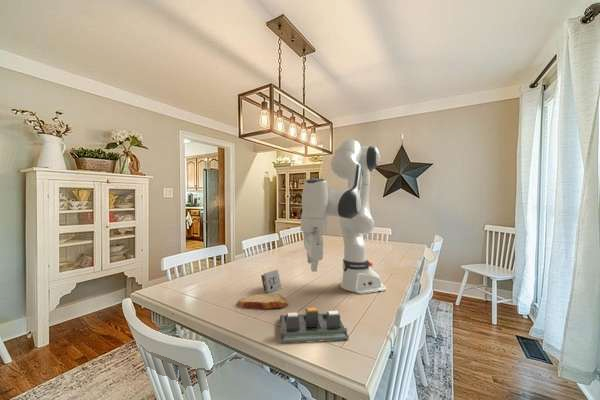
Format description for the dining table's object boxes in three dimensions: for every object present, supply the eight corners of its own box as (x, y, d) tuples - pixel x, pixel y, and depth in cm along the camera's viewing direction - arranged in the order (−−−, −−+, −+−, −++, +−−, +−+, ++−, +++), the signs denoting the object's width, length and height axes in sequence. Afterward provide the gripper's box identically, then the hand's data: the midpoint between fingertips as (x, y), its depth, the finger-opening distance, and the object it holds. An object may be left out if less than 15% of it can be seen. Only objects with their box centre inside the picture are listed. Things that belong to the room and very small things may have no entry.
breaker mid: (316, 322, 87) (316, 307, 86) (318, 326, 84) (318, 310, 84) (305, 322, 86) (305, 307, 86) (306, 327, 83) (306, 311, 83)
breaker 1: (298, 327, 83) (298, 311, 83) (298, 332, 80) (299, 315, 80) (286, 328, 82) (286, 312, 82) (286, 332, 80) (286, 316, 80)
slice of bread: (233, 305, 104) (233, 296, 104) (266, 293, 117) (266, 285, 116) (258, 320, 91) (258, 310, 91) (292, 305, 104) (292, 296, 104)
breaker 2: (337, 325, 84) (338, 310, 84) (340, 330, 81) (340, 314, 81) (326, 326, 84) (326, 310, 84) (328, 330, 81) (328, 314, 81)
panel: (336, 316, 94) (336, 310, 94) (348, 339, 79) (348, 332, 79) (280, 319, 91) (280, 313, 91) (280, 343, 76) (280, 335, 76)
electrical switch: (268, 293, 115) (266, 274, 115) (260, 292, 118) (259, 273, 119) (281, 288, 122) (280, 269, 123) (274, 286, 126) (273, 268, 126)
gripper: (329, 230, 72) (327, 277, 72) (317, 223, 92) (316, 259, 92) (308, 230, 71) (306, 276, 71) (301, 222, 91) (299, 258, 91)
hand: (311, 266), depth 82 cm, fingers open, 8 cm apart
